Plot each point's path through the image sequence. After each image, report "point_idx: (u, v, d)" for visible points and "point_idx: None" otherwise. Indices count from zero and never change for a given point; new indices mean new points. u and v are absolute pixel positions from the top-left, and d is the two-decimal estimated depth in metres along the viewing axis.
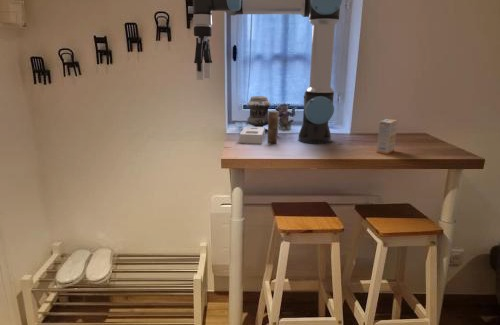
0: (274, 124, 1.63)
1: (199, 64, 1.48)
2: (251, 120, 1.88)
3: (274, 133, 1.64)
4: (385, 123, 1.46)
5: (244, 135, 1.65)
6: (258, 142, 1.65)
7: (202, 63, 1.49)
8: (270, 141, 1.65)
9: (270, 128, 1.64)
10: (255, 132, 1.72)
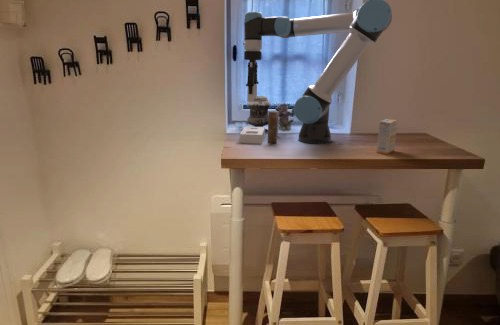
0: (274, 124, 1.63)
1: (251, 87, 1.55)
2: (251, 120, 1.88)
3: (274, 133, 1.64)
4: (385, 123, 1.46)
5: (244, 135, 1.65)
6: (258, 142, 1.65)
7: (253, 86, 1.56)
8: (270, 141, 1.65)
9: (270, 128, 1.64)
10: (255, 132, 1.72)
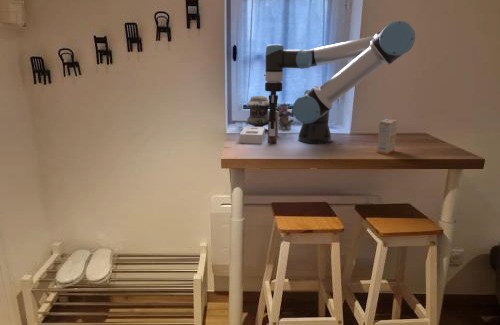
0: None
1: (272, 122, 1.61)
2: (251, 120, 1.88)
3: None
4: (385, 123, 1.46)
5: (244, 135, 1.65)
6: (258, 142, 1.65)
7: (275, 121, 1.62)
8: (270, 141, 1.65)
9: None
10: (255, 132, 1.72)
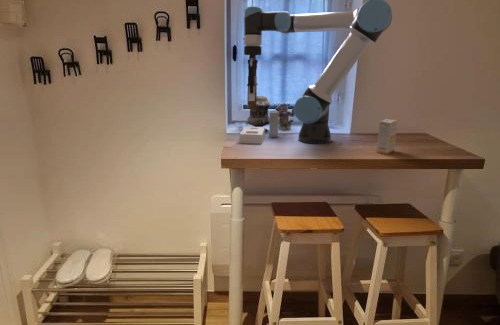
0: None
1: (252, 87, 1.60)
2: (251, 120, 1.88)
3: None
4: (385, 123, 1.46)
5: (244, 135, 1.65)
6: (258, 142, 1.65)
7: (254, 86, 1.61)
8: (250, 106, 1.64)
9: None
10: (255, 132, 1.72)
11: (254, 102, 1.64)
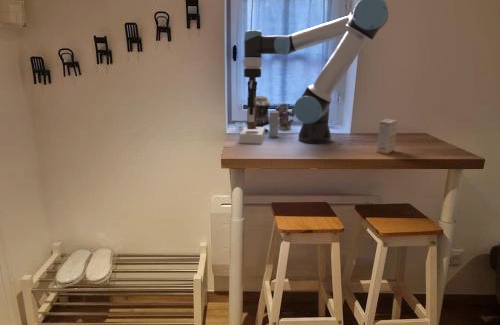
0: None
1: (251, 108, 1.62)
2: None
3: None
4: (385, 123, 1.46)
5: (244, 135, 1.65)
6: (258, 142, 1.65)
7: (254, 107, 1.63)
8: (249, 127, 1.67)
9: None
10: (255, 132, 1.72)
11: (254, 123, 1.66)
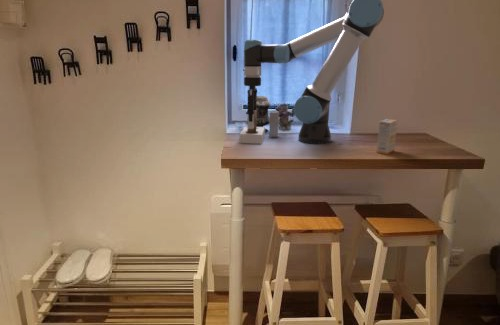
0: None
1: (251, 115, 1.60)
2: None
3: (253, 132, 1.67)
4: (385, 123, 1.46)
5: (244, 135, 1.65)
6: (258, 142, 1.65)
7: (253, 114, 1.61)
8: None
9: None
10: None
11: None
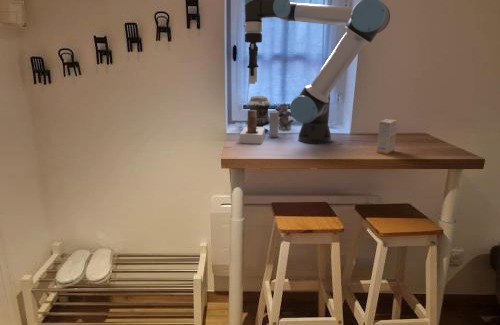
0: (253, 123, 1.66)
1: (252, 69, 1.56)
2: None
3: (253, 132, 1.67)
4: (385, 123, 1.46)
5: (244, 135, 1.65)
6: (258, 142, 1.65)
7: (255, 68, 1.57)
8: None
9: (249, 127, 1.67)
10: None
11: None
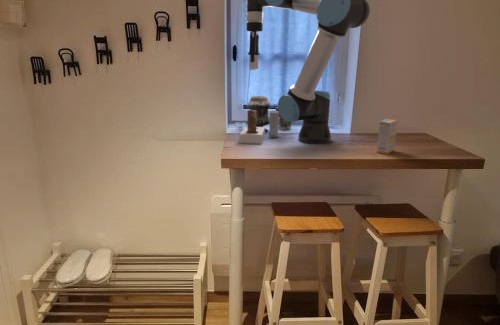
0: (253, 123, 1.66)
1: (252, 55, 1.67)
2: None
3: (253, 132, 1.67)
4: (385, 123, 1.46)
5: (244, 135, 1.65)
6: (258, 142, 1.65)
7: (255, 55, 1.68)
8: None
9: (249, 127, 1.67)
10: None
11: None
